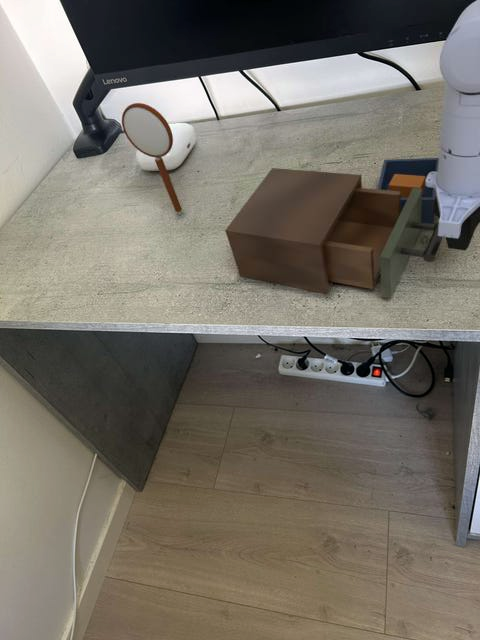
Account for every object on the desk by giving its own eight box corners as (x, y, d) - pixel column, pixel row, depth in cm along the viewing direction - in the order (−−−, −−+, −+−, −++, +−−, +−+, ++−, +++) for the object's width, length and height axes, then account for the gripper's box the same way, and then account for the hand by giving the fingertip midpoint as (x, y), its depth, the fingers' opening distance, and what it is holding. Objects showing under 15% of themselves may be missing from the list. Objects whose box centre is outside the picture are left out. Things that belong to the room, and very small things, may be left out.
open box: (384, 184, 77) (384, 159, 74) (438, 183, 74) (440, 157, 71) (375, 225, 71) (374, 199, 68) (433, 226, 68) (435, 199, 65)
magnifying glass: (158, 215, 87) (110, 107, 72) (163, 209, 88) (117, 101, 73) (198, 220, 83) (156, 106, 69) (203, 213, 84) (163, 100, 69)
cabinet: (364, 225, 72) (361, 174, 66) (327, 294, 65) (320, 245, 58) (282, 214, 78) (272, 167, 72) (240, 276, 71) (224, 230, 65)
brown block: (424, 199, 72) (425, 175, 69) (419, 211, 70) (420, 187, 68) (394, 196, 74) (394, 173, 71) (388, 207, 73) (388, 184, 70)
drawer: (452, 234, 65) (456, 191, 60) (424, 305, 59) (427, 264, 54) (334, 219, 73) (330, 180, 68) (298, 280, 66) (291, 242, 61)
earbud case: (204, 140, 101) (196, 115, 97) (180, 176, 94) (170, 151, 90) (162, 142, 105) (153, 118, 101) (135, 177, 98) (125, 153, 94)
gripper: (446, 103, 54) (438, 204, 64) (408, 180, 46) (406, 281, 56) (518, 104, 50) (498, 211, 60) (489, 187, 43) (472, 293, 53)
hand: (458, 245), depth 58 cm, fingers closed
